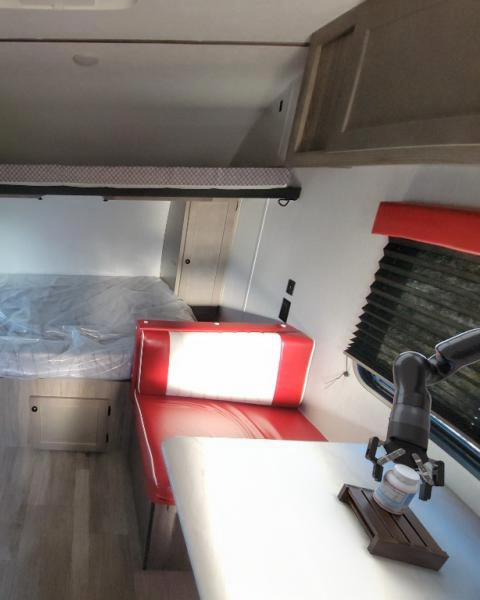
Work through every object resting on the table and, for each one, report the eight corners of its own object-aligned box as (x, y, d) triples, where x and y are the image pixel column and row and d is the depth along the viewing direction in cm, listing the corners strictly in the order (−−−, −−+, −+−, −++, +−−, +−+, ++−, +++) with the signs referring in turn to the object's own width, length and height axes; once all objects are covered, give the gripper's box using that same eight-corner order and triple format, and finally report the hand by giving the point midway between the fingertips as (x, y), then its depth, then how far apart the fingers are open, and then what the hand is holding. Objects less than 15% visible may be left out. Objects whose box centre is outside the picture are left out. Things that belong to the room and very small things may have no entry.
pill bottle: (391, 496, 87) (412, 464, 82) (409, 518, 81) (431, 485, 77) (366, 490, 87) (385, 458, 83) (382, 512, 82) (402, 479, 78)
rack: (394, 509, 89) (402, 496, 87) (438, 571, 75) (449, 556, 73) (337, 496, 91) (344, 483, 89) (369, 553, 77) (379, 539, 75)
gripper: (380, 412, 86) (369, 475, 81) (455, 437, 79) (449, 507, 74) (368, 417, 92) (357, 476, 87) (436, 441, 86) (429, 506, 80)
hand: (399, 490), depth 81 cm, fingers open, 8 cm apart
